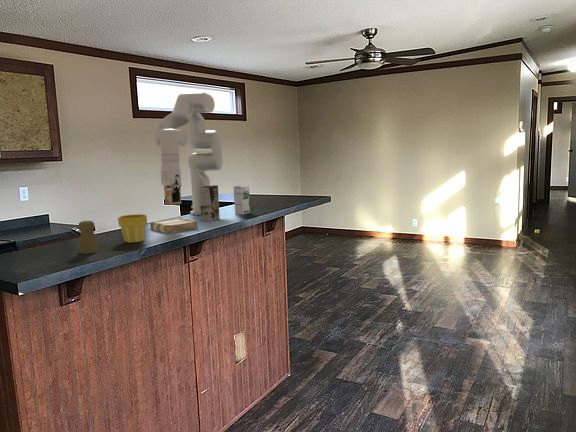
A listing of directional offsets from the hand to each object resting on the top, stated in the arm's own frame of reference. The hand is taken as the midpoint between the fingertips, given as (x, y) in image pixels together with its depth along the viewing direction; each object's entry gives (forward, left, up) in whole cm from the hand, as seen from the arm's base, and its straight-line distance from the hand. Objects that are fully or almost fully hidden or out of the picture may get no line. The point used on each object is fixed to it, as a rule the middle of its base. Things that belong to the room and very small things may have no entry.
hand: (173, 200), depth 204 cm
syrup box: (-13, +45, -13) cm, 49 cm away
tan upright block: (0, 0, -1) cm, 1 cm away
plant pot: (+11, -23, -13) cm, 28 cm away
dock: (-1, 0, -12) cm, 12 cm away
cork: (+17, -42, -13) cm, 47 cm away
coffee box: (-10, +24, -13) cm, 29 cm away
